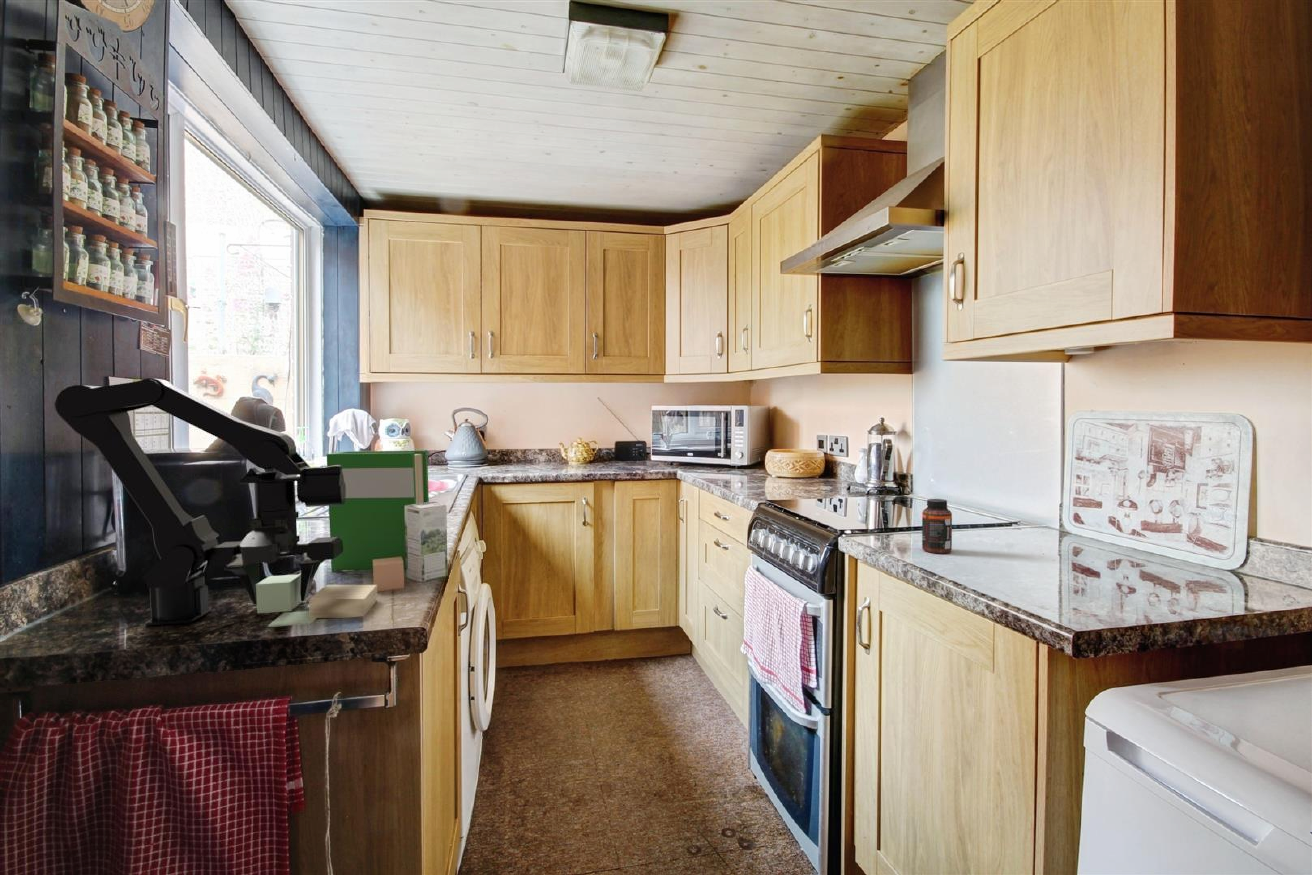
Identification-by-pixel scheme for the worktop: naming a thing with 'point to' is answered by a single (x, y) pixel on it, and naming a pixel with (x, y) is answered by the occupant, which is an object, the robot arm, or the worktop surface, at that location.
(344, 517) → the hardback book
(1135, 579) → the worktop surface
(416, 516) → the syrup box
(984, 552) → the worktop surface
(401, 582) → the terracotta cube
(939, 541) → the supplement bottle
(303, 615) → the sage swatch
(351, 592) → the beech block
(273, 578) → the sage cube
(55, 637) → the worktop surface
